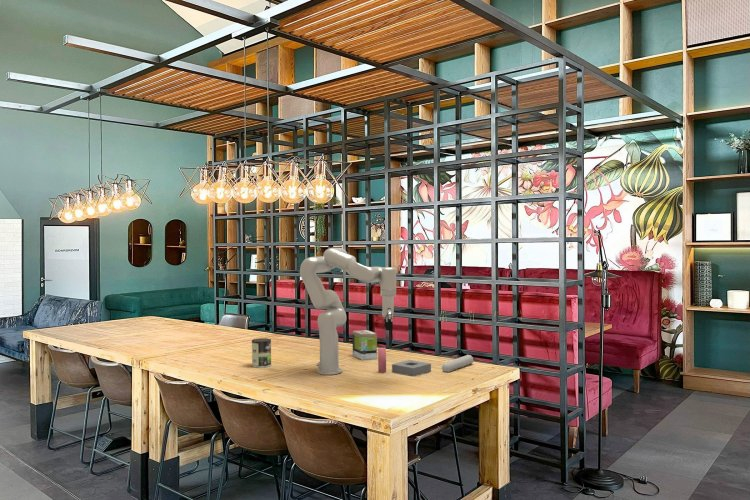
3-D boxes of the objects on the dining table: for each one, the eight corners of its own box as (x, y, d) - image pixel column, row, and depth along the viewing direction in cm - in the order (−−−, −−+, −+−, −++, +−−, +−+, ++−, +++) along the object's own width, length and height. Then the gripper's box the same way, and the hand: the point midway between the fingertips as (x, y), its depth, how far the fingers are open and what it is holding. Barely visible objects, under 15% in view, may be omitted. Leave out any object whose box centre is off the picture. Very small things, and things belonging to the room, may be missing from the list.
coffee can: (274, 364, 316) (273, 338, 315) (267, 368, 305) (266, 341, 305) (256, 363, 318) (256, 337, 317) (248, 367, 307) (248, 341, 307)
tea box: (377, 359, 326) (377, 332, 325) (361, 360, 322) (360, 334, 322) (368, 354, 340) (367, 329, 339) (352, 355, 336) (351, 330, 336)
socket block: (392, 372, 292) (392, 364, 292) (409, 367, 303) (409, 359, 303) (413, 376, 283) (413, 368, 283) (430, 371, 293) (430, 363, 293)
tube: (449, 365, 288) (474, 357, 308) (441, 361, 291) (466, 353, 311) (447, 375, 289) (472, 366, 309) (438, 370, 293) (463, 361, 312)
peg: (376, 372, 293) (376, 348, 293) (382, 370, 296) (381, 347, 296) (382, 373, 290) (382, 349, 290) (387, 371, 293) (387, 348, 293)
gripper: (379, 291, 285) (379, 326, 285) (381, 294, 268) (381, 331, 268) (394, 291, 285) (394, 325, 286) (397, 294, 268) (397, 331, 268)
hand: (388, 328), depth 277 cm, fingers open, 9 cm apart
